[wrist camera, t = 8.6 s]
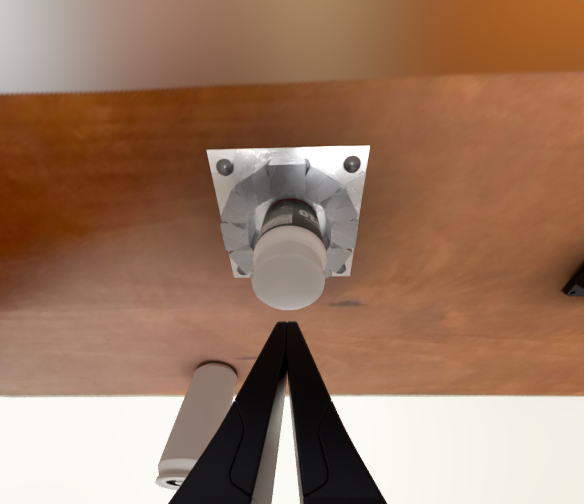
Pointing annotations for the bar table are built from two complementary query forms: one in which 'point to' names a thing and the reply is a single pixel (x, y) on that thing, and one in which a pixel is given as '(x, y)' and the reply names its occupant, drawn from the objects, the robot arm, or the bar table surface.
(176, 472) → the beverage can
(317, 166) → the socket
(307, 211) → the pill bottle
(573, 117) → the bar table surface
